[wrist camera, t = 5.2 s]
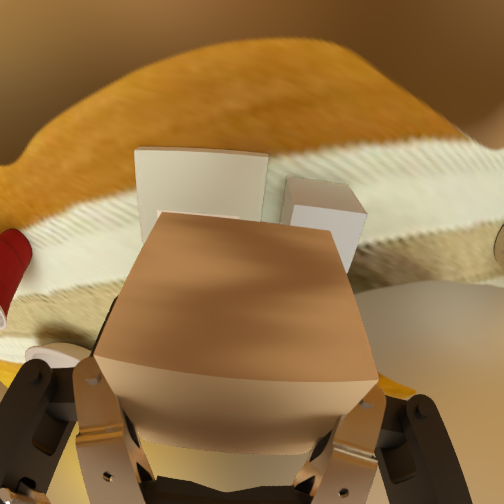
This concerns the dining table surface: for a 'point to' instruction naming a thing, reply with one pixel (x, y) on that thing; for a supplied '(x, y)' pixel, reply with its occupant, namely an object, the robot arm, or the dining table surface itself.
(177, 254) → the oak block
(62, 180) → the dining table surface
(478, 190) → the dining table surface
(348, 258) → the grey block
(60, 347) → the soup bowl
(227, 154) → the board
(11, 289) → the plastic cup
